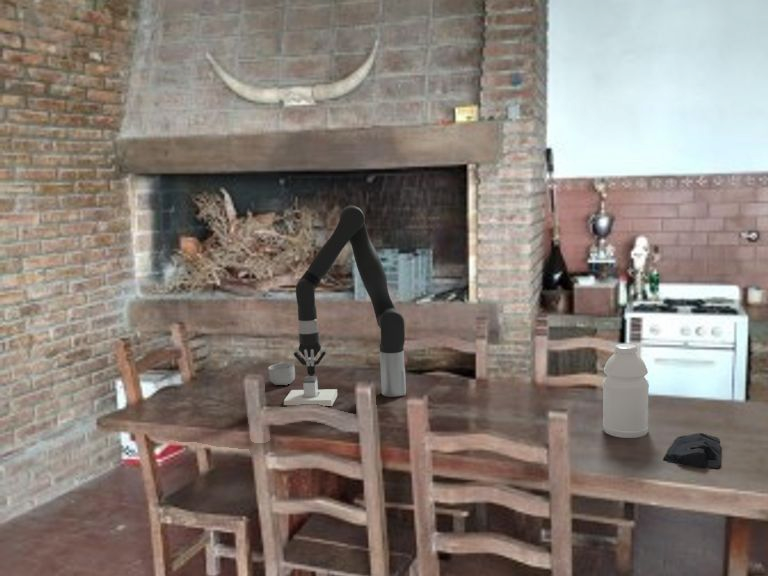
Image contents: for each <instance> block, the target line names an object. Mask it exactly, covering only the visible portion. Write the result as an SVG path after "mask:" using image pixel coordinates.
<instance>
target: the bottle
mask: <svg viewBox="0 0 768 576" xmlns="http://www.w3.org/2000/svg"><path fill="white" fill-rule="evenodd" d="M614 352H615V353H613V354H612V355H611V356H610V357H609V358H608V360H607V361H606V363H605V364H604V368H603V372H604V374H605V375H606V377H605V378H604V379H603V380H602V402H603V403H602V411H603V412H602V413H603V414H602V416H603V417H602V418H603V420H602V429H603V432H604V433H605V434H607V435H609V436H612V437H615V438H622V439H634V438H635V439H637V438H642V437H645V436H646V435H647V434H648V433H649V391H650V390H649V385H650V384H649V380H647V379H646V377H645V376H647V374H649V372H648V368H647V365H646V363H645V362H644V360H643V359H642V358H641V356H640V355H639V354H637V352H638V348H637V345H635V344H632V343H618V344H615V346H614Z"/></svg>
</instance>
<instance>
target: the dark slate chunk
mask: <svg viewBox="0 0 768 576" xmlns="http://www.w3.org/2000/svg"><path fill="white" fill-rule="evenodd" d="M721 451H722V449H721V439H720V438H719V437H717V436H713V435H708V434H706V433H702V432H699V433H693V434H689V435H681V436H677V437H676V438H675V439H674V440H673V443H672V444H671V445H670V446H669V448H668V450H667V451H666V453H665V455H664V456H663V458H662V460H663V461H666V462H667V464H675V465H676V464H677V465H681V466H685V467H692V468H700V469H703V468H704V469H711V468H712V469H719V468H720V467H721V464H722V463H721V460H722V457H721V455H722V453H721Z"/></svg>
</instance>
